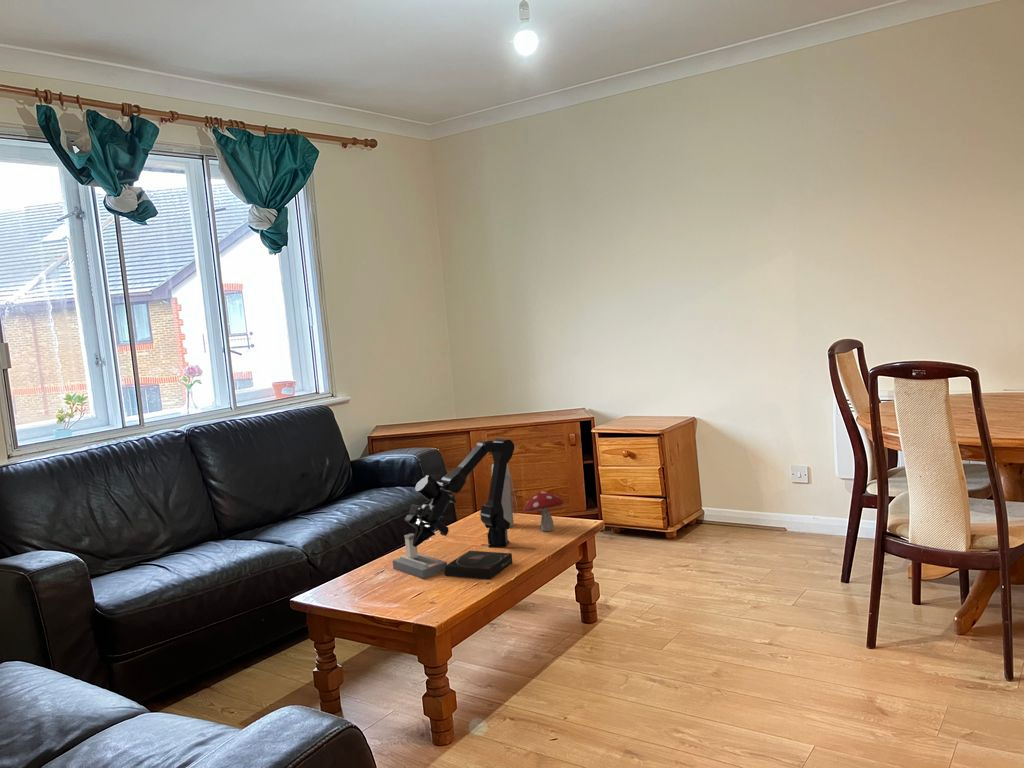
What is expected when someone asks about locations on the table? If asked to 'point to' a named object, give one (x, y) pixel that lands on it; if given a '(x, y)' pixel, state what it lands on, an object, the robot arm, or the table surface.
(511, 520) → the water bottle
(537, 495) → the decorative mushroom
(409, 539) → the breaker handle
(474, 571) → the portable cd player
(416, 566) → the breaker housing
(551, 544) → the table surface
